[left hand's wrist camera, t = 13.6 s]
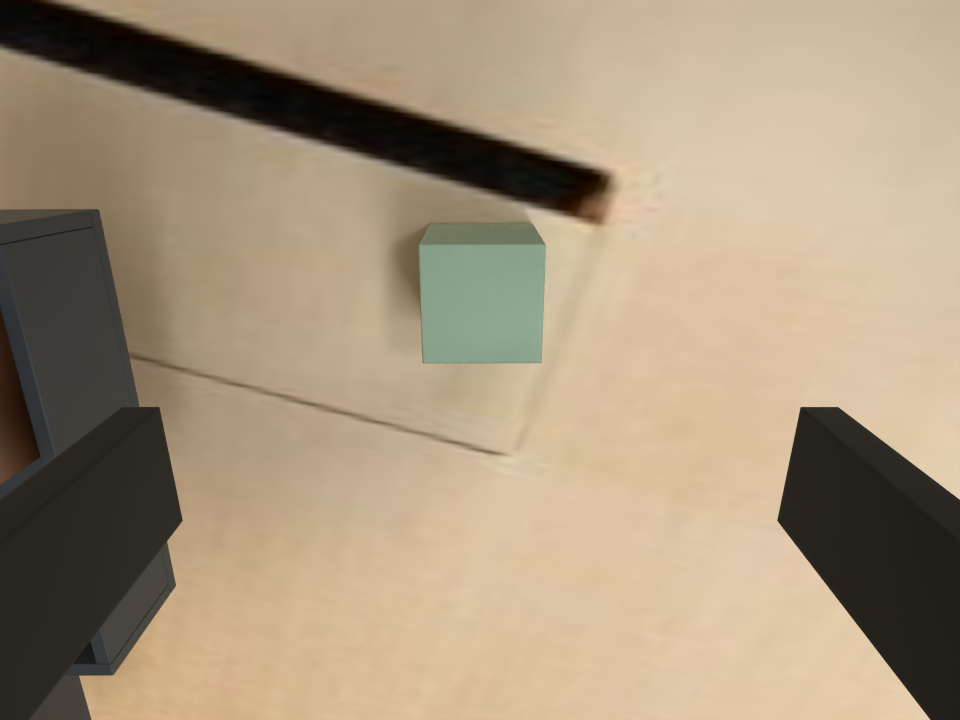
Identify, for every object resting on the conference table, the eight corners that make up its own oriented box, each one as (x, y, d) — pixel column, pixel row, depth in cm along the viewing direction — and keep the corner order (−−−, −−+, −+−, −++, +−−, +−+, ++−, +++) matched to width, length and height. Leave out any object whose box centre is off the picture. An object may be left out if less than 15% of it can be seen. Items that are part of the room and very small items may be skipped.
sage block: (429, 223, 29) (418, 244, 24) (533, 223, 29) (545, 244, 24) (432, 322, 31) (422, 364, 25) (530, 321, 31) (541, 363, 25)
